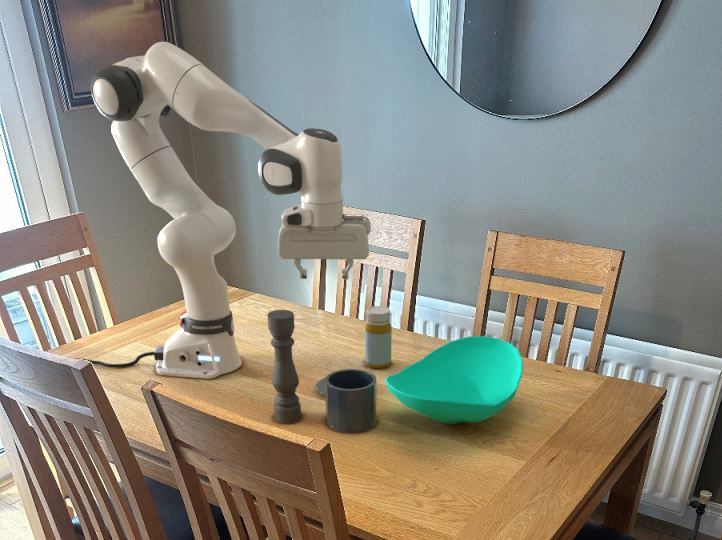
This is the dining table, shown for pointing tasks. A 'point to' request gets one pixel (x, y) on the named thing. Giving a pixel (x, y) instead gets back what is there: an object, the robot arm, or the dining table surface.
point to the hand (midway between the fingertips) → (324, 278)
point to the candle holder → (284, 367)
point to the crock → (350, 400)
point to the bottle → (378, 337)
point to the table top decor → (461, 380)
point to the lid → (321, 386)
